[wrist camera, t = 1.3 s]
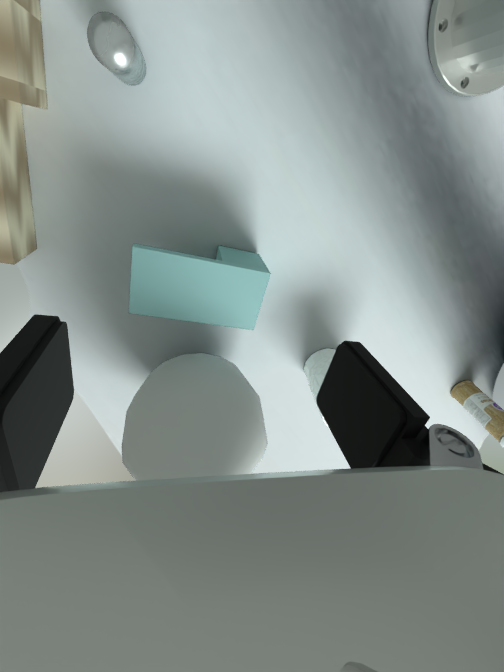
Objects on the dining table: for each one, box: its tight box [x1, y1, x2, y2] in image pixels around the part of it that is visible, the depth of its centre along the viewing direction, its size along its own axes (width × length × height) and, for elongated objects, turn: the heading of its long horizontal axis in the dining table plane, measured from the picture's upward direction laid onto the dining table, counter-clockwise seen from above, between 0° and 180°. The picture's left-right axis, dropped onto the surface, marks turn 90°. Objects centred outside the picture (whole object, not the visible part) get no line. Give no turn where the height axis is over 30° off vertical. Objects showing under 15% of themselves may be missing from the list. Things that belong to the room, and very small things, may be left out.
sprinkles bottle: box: [451, 381, 504, 448], centre depth 52 cm, size 5×5×14 cm
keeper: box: [129, 243, 271, 330], centre depth 33 cm, size 7×14×6 cm, turn 75°
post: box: [87, 12, 146, 86], centre depth 23 cm, size 3×3×7 cm
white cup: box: [304, 348, 336, 427], centre depth 44 cm, size 8×8×10 cm
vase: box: [122, 353, 268, 481], centre depth 33 cm, size 17×16×28 cm
